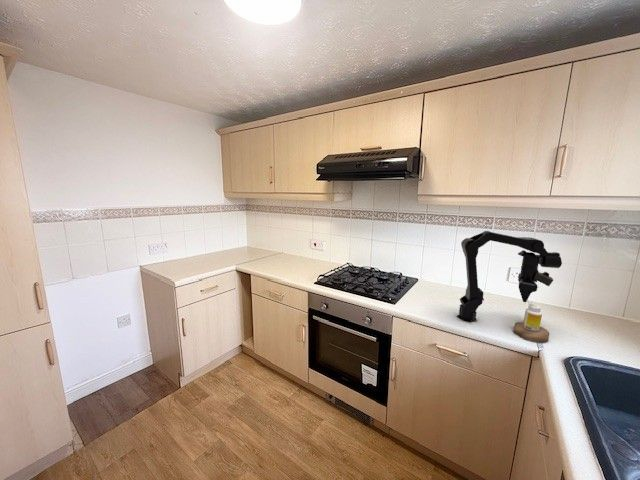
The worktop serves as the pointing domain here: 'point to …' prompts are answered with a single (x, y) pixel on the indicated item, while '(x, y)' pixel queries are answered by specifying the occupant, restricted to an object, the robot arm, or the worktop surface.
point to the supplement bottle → (532, 318)
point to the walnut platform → (531, 333)
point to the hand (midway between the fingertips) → (524, 298)
